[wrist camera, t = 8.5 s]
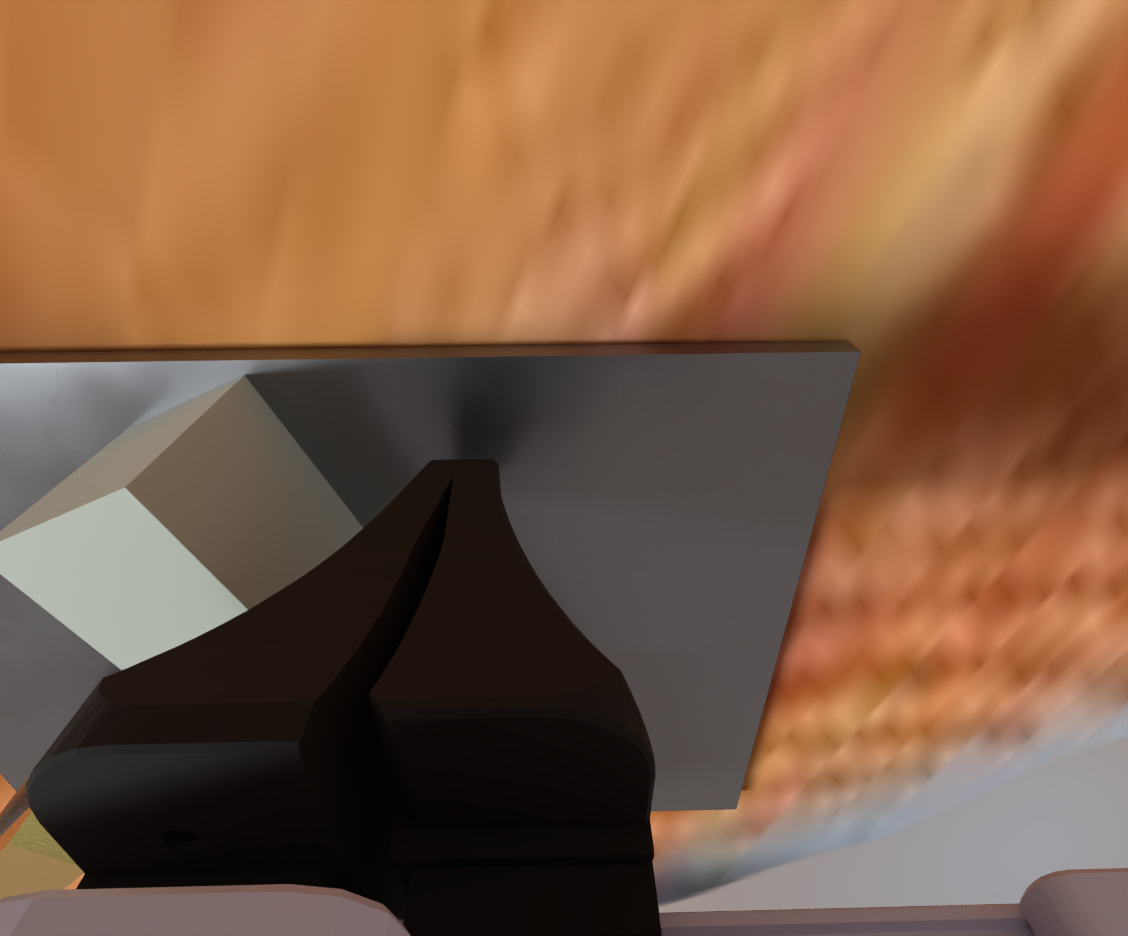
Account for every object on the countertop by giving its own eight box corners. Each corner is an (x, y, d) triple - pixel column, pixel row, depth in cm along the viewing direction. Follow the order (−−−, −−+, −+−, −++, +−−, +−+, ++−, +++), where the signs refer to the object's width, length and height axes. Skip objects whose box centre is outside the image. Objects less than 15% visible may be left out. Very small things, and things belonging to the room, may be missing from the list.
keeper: (237, 623, 17) (92, 871, 11) (136, 721, 19) (-24, 967, 14) (182, 593, 16) (1, 842, 11) (84, 698, 18) (-105, 947, 13)
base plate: (731, 792, 22) (736, 809, 21) (59, 808, 21) (47, 825, 21) (848, 340, 12) (861, 351, 12) (-324, 356, 12) (-362, 369, 12)
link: (602, 771, 20) (613, 913, 16) (442, 813, 21) (421, 953, 18) (307, 346, 12) (207, 451, 8) (73, 452, 13) (-95, 582, 10)
